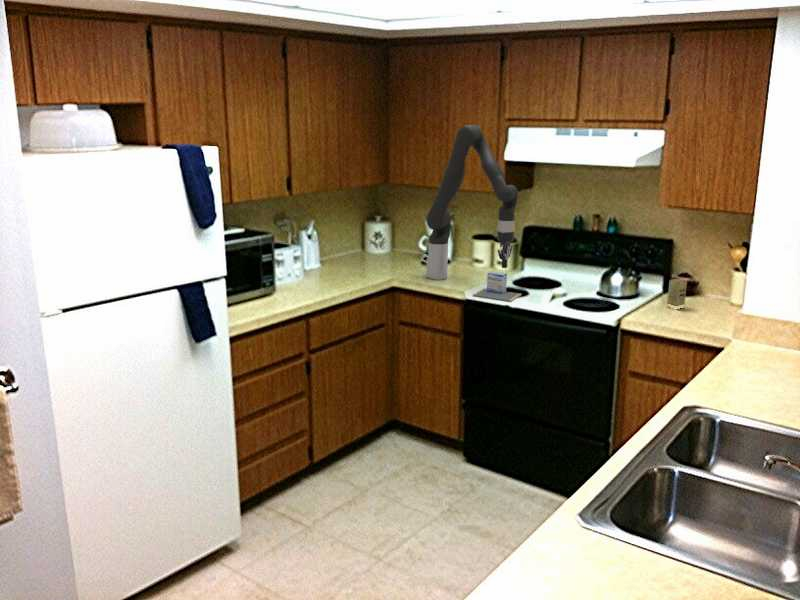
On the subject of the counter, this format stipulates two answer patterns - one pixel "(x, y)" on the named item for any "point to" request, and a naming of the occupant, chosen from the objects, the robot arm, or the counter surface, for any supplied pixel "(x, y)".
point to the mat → (497, 295)
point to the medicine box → (496, 282)
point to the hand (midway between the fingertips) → (504, 267)
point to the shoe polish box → (677, 292)
